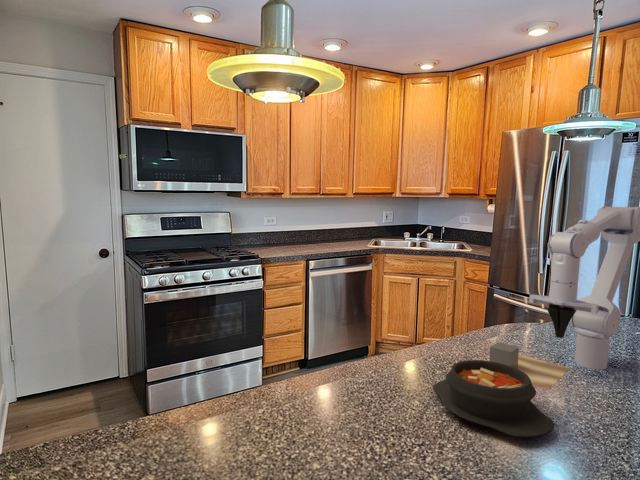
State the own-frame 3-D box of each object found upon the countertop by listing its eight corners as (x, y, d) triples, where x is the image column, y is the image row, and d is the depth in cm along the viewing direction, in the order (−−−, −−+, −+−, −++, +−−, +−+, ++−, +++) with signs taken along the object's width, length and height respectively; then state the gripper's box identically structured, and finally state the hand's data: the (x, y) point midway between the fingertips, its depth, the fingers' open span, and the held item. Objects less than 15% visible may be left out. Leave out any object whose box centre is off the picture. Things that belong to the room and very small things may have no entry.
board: (503, 353, 119) (503, 350, 119) (570, 370, 107) (570, 367, 107) (475, 371, 106) (475, 368, 106) (548, 392, 95) (548, 389, 94)
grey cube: (497, 362, 110) (498, 342, 110) (517, 368, 106) (518, 347, 106) (488, 368, 106) (490, 346, 106) (509, 374, 103) (511, 352, 102)
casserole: (576, 432, 78) (579, 389, 77) (507, 458, 70) (509, 410, 69) (474, 381, 100) (475, 347, 100) (412, 395, 92) (413, 359, 92)
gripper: (526, 279, 103) (522, 333, 104) (595, 288, 93) (590, 347, 94) (536, 276, 108) (532, 327, 109) (602, 284, 98) (597, 341, 99)
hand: (559, 336), depth 102 cm, fingers closed
